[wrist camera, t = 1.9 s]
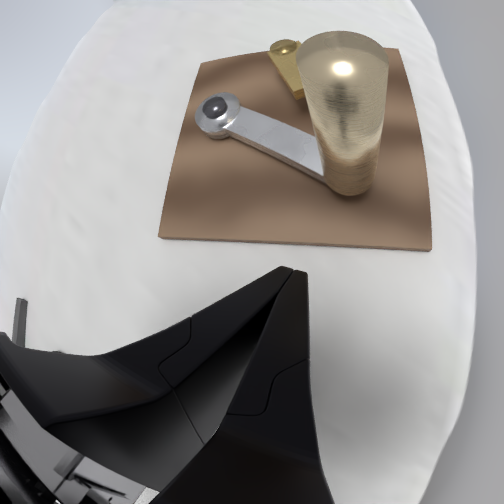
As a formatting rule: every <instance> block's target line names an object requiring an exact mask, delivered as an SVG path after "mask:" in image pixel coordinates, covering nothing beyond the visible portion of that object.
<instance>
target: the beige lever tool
mask: <svg viewBox="0 0 504 504" xmlns="http://www.w3.org/2000/svg"><path fill="white" fill-rule="evenodd" d="M296 63H297V66H298V70H299V73H300V77H301V81H302V84H303V88H304V92H305V96H306V100H307V104H308V108H309V112H310V116H311V120H312V124H313V129H314V133H315V137H314V136H312V135H310V134H308V133H306V132H303V131H301V130H299V129H297V128H294V127H292V126H290V125H287V124H285V123H283V122H280V121H278V120H275V119H273V118H270V117H268V116H265V115H263V114H260V113H258V112H255V111H252V110H250V109H247V108H244V107H242V105H241V103H240V102H239V100H238V98H237V97H236V96H235V95H234V94H232V93H227V92H222V93H217V94H214V95H212V96H210V97H208V98H207V99H205V100H204V101H203V102H202V103H201V104H200V105H199V107H198V108H197V110H196V113H195V121H196V123H197V125H198V126H199V127H200V128H201V129H202V131H203V132H204V133H205V134H206V135H207V136H208V137H210V138H213V139H223V138H226V137H229V136H231V137H233V138H235V139H238V140H240V141H242V142H244V143H246V144H248V145H251V146H253V147H255V148H257V149H259V150H261V151H263V152H265V153H267V154H269V155H271V156H273V157H275V158H277V159H279V160H281V161H283V162H285V163H287V164H289V165H291V166H293V167H295V168H297V169H299V170H301V171H303V172H304V173H306V174H308V175H310V176H312V177H314V178H316V179H317V180H319V181H321V182H323V183H325V184H326V185H328V186H329V187H330V188H331V189H332V190H333V191H335V192H337V193H339V194H342V195H346V196H355V195H359V194H361V193H363V192H365V191H367V190H368V189H369V188H370V187H371V185H372V184H373V182H374V178H375V173H376V167H377V161H378V155H379V149H380V142H381V135H382V128H383V120H384V112H385V102H386V92H387V81H388V67H389V59H388V55H387V53H386V51H385V50H384V49H383V47H382V46H381V45H380V44H378V43H377V42H376V41H374V40H373V39H371V38H369V37H367V36H364V35H362V34H358V33H354V32H348V31H331V32H325V33H321V34H317V35H315V36H313V37H311V38H309V39H307V40H306V41H305V42H304V43H302V44H301V46H300V47H299V48H298V50H297V53H296Z"/></svg>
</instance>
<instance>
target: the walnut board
mask: <svg viewBox="0 0 504 504" xmlns="http://www.w3.org/2000/svg"><path fill="white" fill-rule="evenodd" d="M383 49H384V50H385V51H386V53H387V55H388V59H389V67H388V81H387V92H386V102H385V112H384V120H383V128H382V135H381V142H380V149H379V155H378V161H377V167H376V173H375V178H374V182H373V184H372V185H371V187H370V188H369V189H368V190H367V191H365V192H363V193H361V194H359V195H355V196H346V195H342V194H339V193H337V192H335V191H333V190H332V189H331V188H330V187H329V186H328V185H326V184H325V183H323V182H321V181H319V180H317V179H316V178H314V177H312V176H310V175H308V174H306V173H304V172H303V171H301V170H299V169H297V168H295V167H293V166H291V165H289V164H287V163H285V162H283V161H281V160H279V159H277V158H275V157H273V156H271V155H269V154H267V153H265V152H263V151H261V150H259V149H257V148H255V147H253V146H251V145H248V144H246V143H244V142H242V141H240V140H238V139H235V138H233V137H231V136H229V137H226V138H223V139H213V138H210V137H208V136H207V135H206V134H205V133H204V132H203V131H202V129H201V128H200V127H199V126H198V125H197V123H196V121H195V113H196V110H197V108H198V107H199V105H200V104H201V103H202V102H203V101H204V100H205V99H207V98H208V97H210V96H212V95H214V94H217V93H222V92H227V93H232V94H234V95H235V96H236V97H237V98H238V100H239V102H240V103H241V105H242V107H244V108H247V109H250V110H252V111H255V112H258V113H260V114H263V115H265V116H268V117H270V118H273V119H275V120H278V121H280V122H283V123H285V124H287V125H290V126H292V127H294V128H297V129H299V130H301V131H303V132H306V133H308V134H310V135H312V136H314V137H315V133H314V129H313V124H312V120H311V116H310V112H309V108H308V104H307V100H306V96H305V97H303V98H300V99H298V100H296V99H295V97H294V96H293V94H292V93H291V91H290V89H289V88H288V86H287V85H286V83H285V82H284V80H283V79H282V78H281V77H280V76H279V73H278V71H277V70H276V68H275V67H274V65H273V64H272V62H271V61H270V59H269V56H268V54H267V52H269V51H265V52H257V53H251V54H244V55H238V56H233V57H228V58H222V59H218V60H213V61H208V62H204V63H201V65H200V68H199V71H198V74H197V77H196V80H195V83H194V86H193V90H192V93H191V96H190V99H189V103H188V106H187V110H186V113H185V117H184V120H183V124H182V128H181V132H180V135H179V139H178V143H177V147H176V151H175V155H174V159H173V164H172V168H171V172H170V177H169V181H168V186H167V191H166V196H165V201H164V206H163V211H162V216H161V221H160V227H159V233H158V237H160V238H162V239H180V240H205V241H230V242H253V243H275V244H296V245H317V246H337V247H356V248H374V249H392V250H410V251H427V252H429V251H430V250H432V230H431V212H430V199H429V188H428V179H427V171H426V163H425V157H424V150H423V144H422V139H421V133H420V128H419V123H418V118H417V114H416V109H415V105H414V101H413V97H412V93H411V89H410V85H409V82H408V78H407V75H406V71H405V68H404V65H403V62H402V59H401V56H400V53H399V50H398V49H394V48H383Z"/></svg>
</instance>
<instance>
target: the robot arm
mask: <svg viewBox="0 0 504 504" xmlns="http://www.w3.org/2000/svg"><path fill="white" fill-rule="evenodd" d="M309 359H310V329H309V294H308V274H307V273H306V272H303V271H299V270H293V269H292V268H288V267H284V266H280V267H278V268H276V269H274V270H272V271H271V272H269V273H267V274H265V275H264V276H262V277H260V278H258V279H257V280H255V281H253V282H251V283H250V284H248V285H246V286H244V287H242V288H241V289H239V290H237V291H235V292H233V293H232V294H230V295H228V296H226V297H225V298H223V299H221V300H219V301H217V302H215V303H214V304H212V305H210V306H208V307H206V308H205V309H203V310H201V311H199V312H197V313H195V314H194V315H192V316H191V317H188V318H186V319H184V320H182V321H180V322H179V323H177V324H175V325H173V326H171V327H169V328H167V329H165V330H163V331H160V332H158V333H156V334H153V335H151V336H149V337H146V338H144V339H141V340H139V341H136V342H134V343H131V344H129V345H126V346H124V347H121V348H119V349H116V350H114V351H111V352H108V353H105V354H101V355H94V356H83V355H73V354H64V353H56V352H48V351H41V350H34V349H29V348H24V347H21V346H18V345H16V344H15V343H13V342H12V341H11V340H10V338H9V337H8V336H7V334H6V333H5V332H0V504H58V503H57V502H55V501H56V500H58V501H59V502H60V503H61V504H134V503H135V502H136V500H137V499H138V497H139V496H140V495H141V493H142V492H143V491H144V489H145V488H146V487H148V488H151V489H153V490H156V491H158V492H160V493H159V494H158V495H157V496H156V497H155V498H154V499H153V500H152V501H151V502H150V503H149V504H335V503H334V500H333V497H332V495H331V492H330V489H329V487H328V484H327V481H326V478H325V476H324V472H323V469H322V465H321V460H320V455H319V448H318V441H317V434H316V427H315V420H314V413H313V406H312V397H311V385H310V360H309ZM220 423H221V424H220ZM219 425H220V426H219ZM218 426H219V427H218ZM217 428H218V429H217ZM216 429H217V431H216ZM215 431H216V432H215ZM214 432H215V434H214ZM213 434H214V435H213ZM212 435H213V436H212ZM210 438H211V439H210Z"/></svg>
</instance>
